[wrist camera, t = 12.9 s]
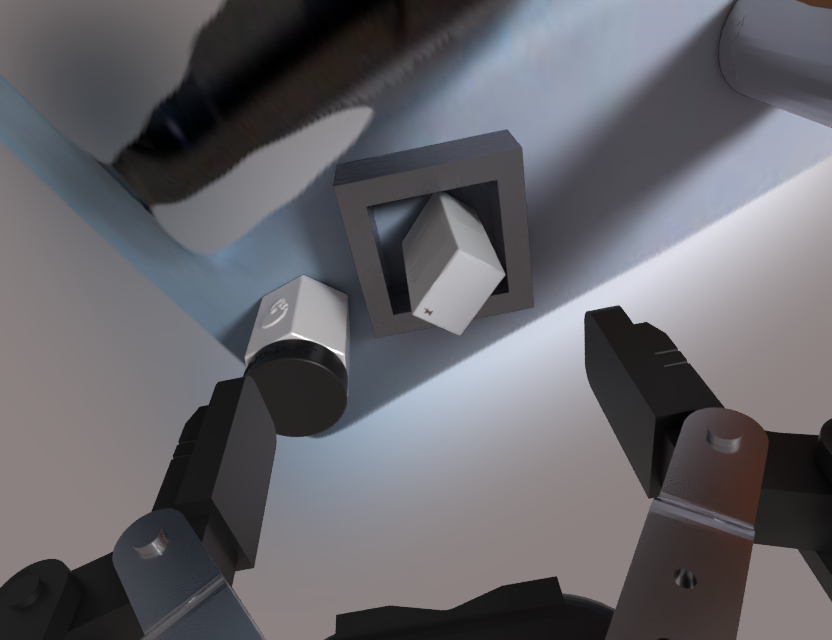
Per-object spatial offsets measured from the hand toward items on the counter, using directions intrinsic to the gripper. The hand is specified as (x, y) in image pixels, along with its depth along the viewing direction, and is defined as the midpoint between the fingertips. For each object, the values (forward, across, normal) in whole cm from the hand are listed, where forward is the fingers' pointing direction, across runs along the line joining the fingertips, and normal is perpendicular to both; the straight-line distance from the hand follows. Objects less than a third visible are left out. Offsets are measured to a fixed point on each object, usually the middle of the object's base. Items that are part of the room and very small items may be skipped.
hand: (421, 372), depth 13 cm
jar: (+34, +11, +18) cm, 41 cm away
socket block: (+34, -2, +12) cm, 36 cm away
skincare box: (+34, -2, +12) cm, 36 cm away
